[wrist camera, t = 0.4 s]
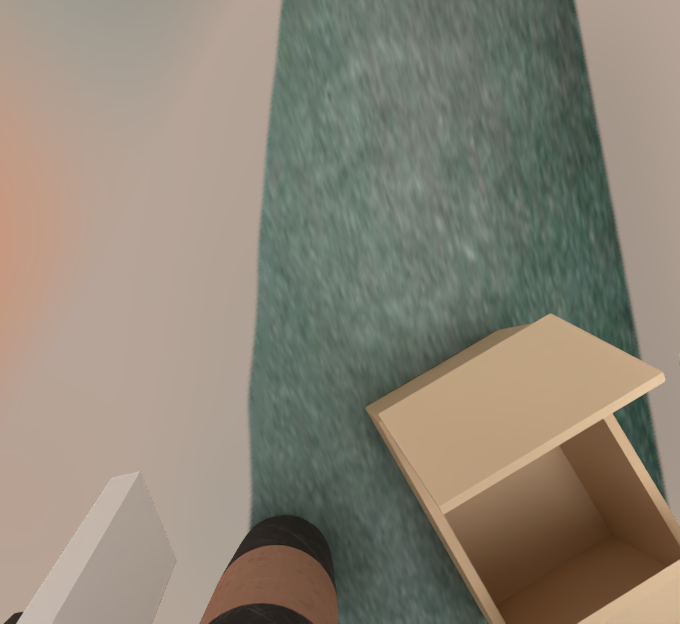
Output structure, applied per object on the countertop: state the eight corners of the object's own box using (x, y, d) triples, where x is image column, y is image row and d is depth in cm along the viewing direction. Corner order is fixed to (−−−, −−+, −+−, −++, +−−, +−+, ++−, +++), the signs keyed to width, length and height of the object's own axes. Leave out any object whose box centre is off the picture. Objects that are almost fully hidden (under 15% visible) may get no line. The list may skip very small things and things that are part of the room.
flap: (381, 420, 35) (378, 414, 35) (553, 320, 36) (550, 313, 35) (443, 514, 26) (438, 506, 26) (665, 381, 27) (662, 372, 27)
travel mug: (268, 491, 46) (225, 588, 26) (354, 545, 46) (377, 683, 26) (213, 581, 46) (127, 750, 26) (301, 635, 45) (283, 848, 25)
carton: (619, 536, 47) (721, 595, 35) (485, 618, 46) (542, 708, 34) (497, 330, 48) (555, 318, 36) (364, 407, 47) (378, 422, 35)
